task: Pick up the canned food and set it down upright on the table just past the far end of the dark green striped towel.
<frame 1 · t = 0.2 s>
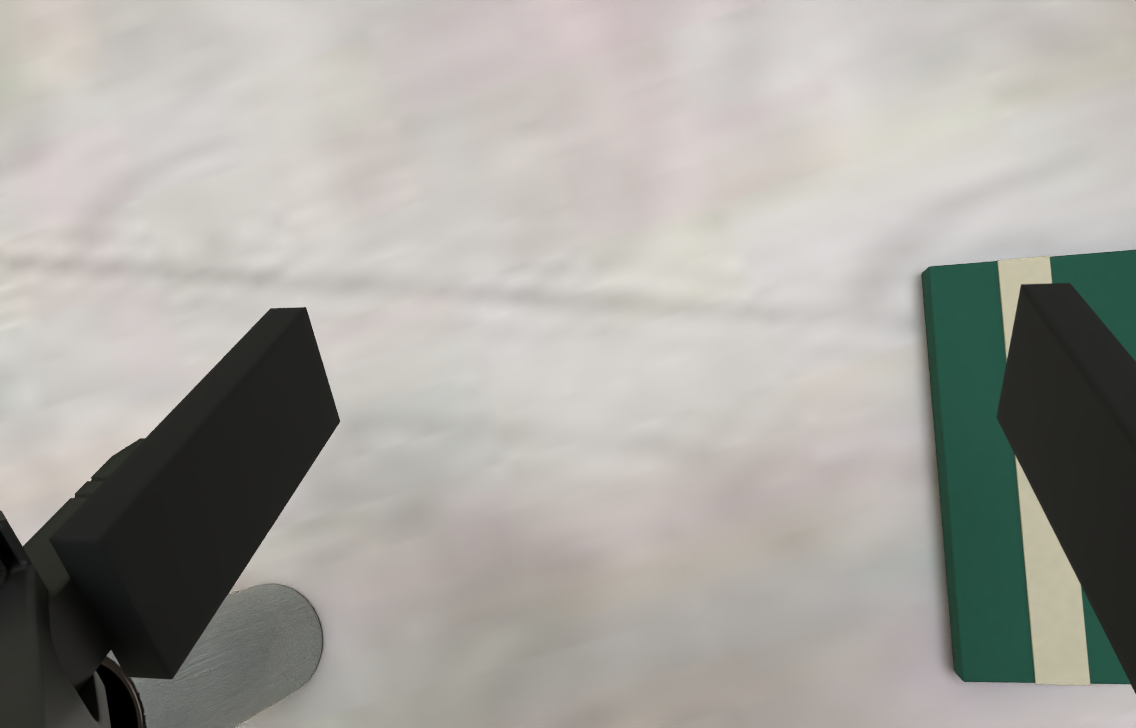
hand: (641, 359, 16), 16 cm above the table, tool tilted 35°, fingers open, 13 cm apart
grey cylinder: (276, 637, 34), on the table
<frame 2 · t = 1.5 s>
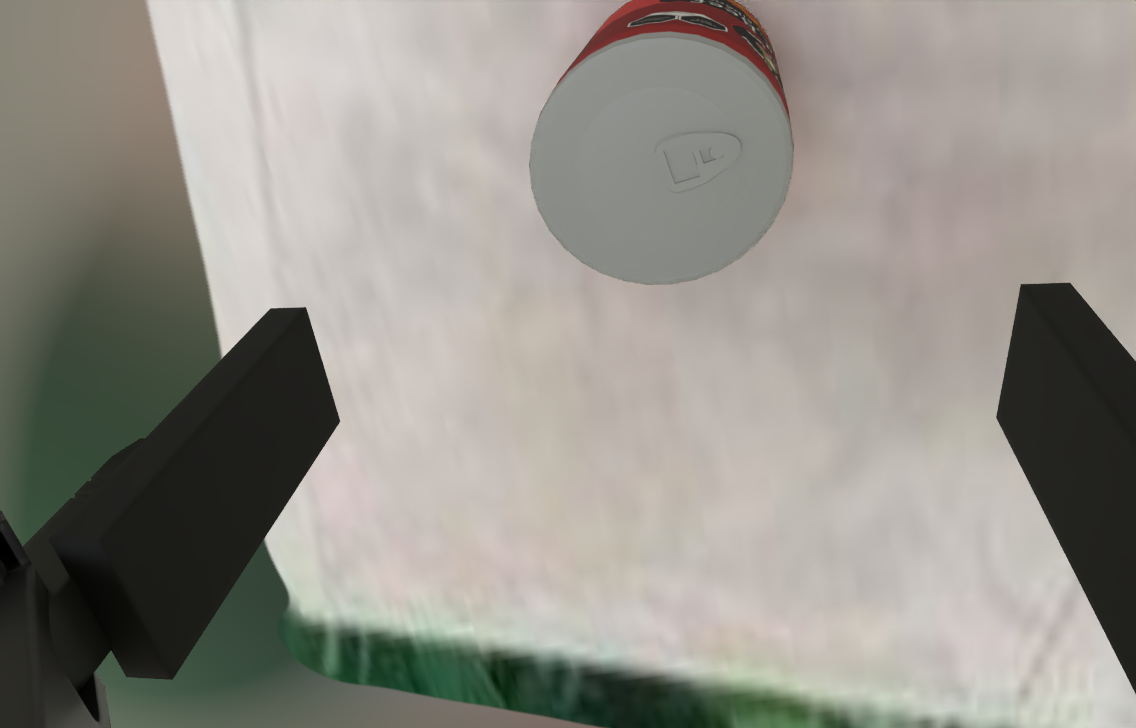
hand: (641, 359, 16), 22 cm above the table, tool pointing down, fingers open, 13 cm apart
canned food: (677, 83, 34), on the table
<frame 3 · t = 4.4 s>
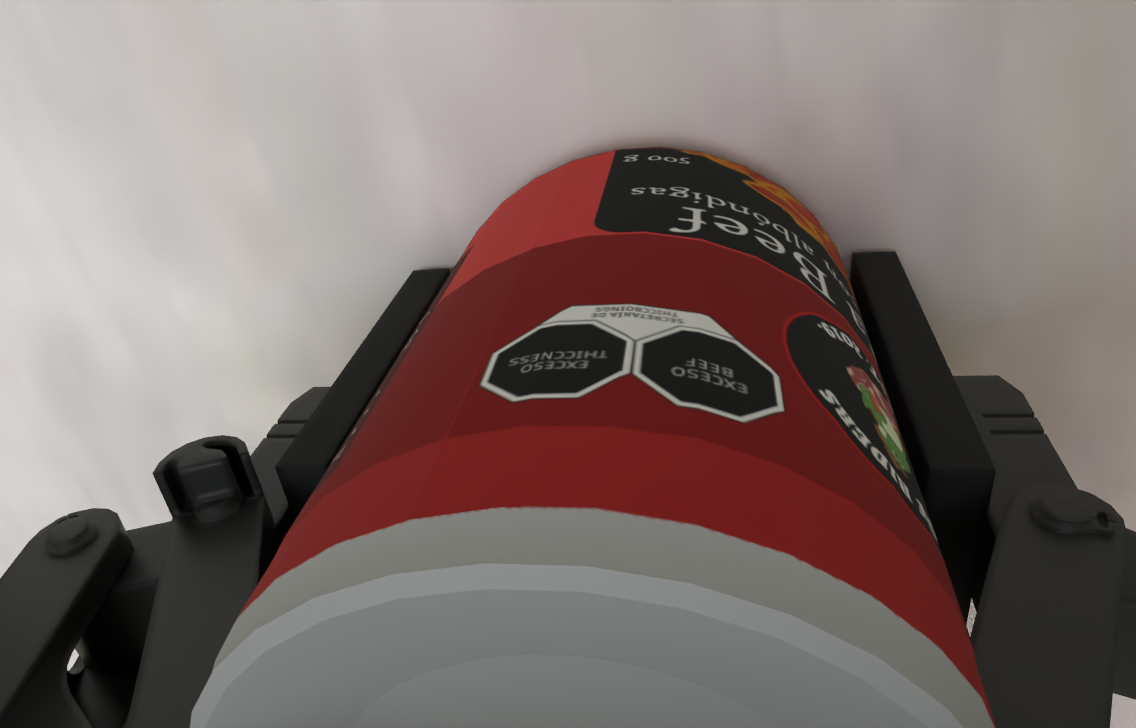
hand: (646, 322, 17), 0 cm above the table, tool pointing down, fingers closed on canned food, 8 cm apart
canned food: (647, 312, 17), on the table, touching gripper
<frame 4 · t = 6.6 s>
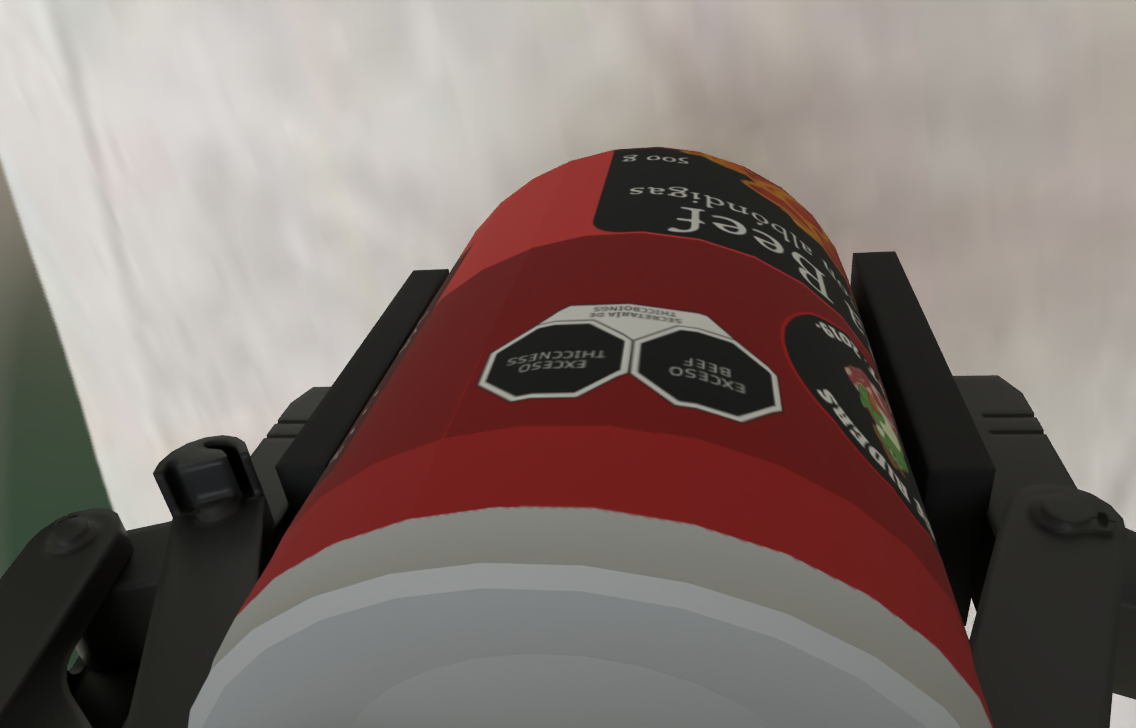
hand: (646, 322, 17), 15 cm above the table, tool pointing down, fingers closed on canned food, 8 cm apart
canned food: (646, 312, 17), point 14 cm above the table, touching gripper
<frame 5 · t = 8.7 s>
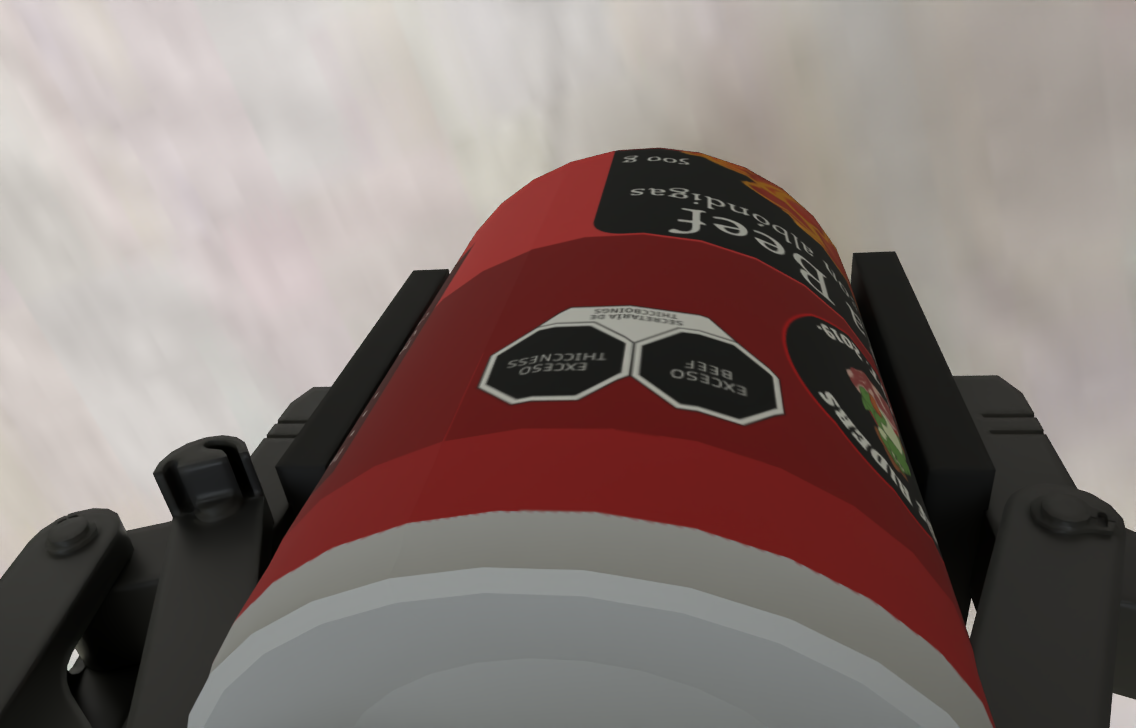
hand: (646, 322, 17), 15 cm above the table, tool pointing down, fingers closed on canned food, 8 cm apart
canned food: (647, 313, 17), point 14 cm above the table, touching gripper
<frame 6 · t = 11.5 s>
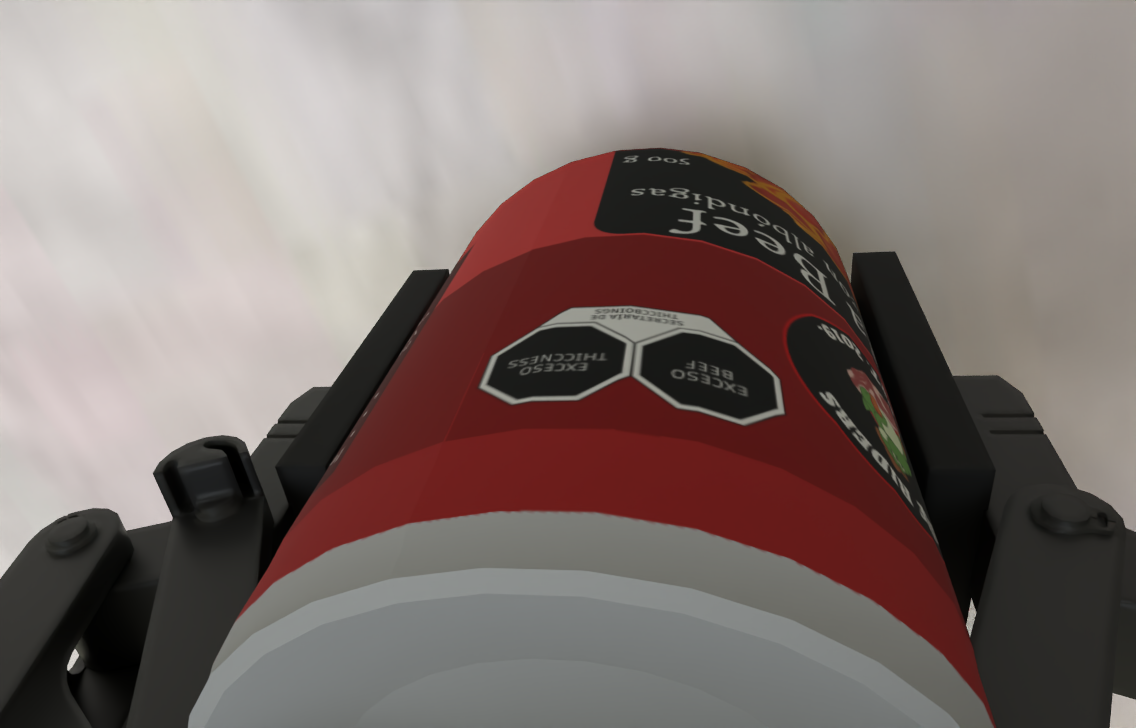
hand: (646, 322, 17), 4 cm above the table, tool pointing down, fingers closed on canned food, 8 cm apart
canned food: (647, 313, 17), point 4 cm above the table, touching gripper
when the fingers open (0 cm above the table, at t = 13.3 s): canned food stays where it is, on the table.
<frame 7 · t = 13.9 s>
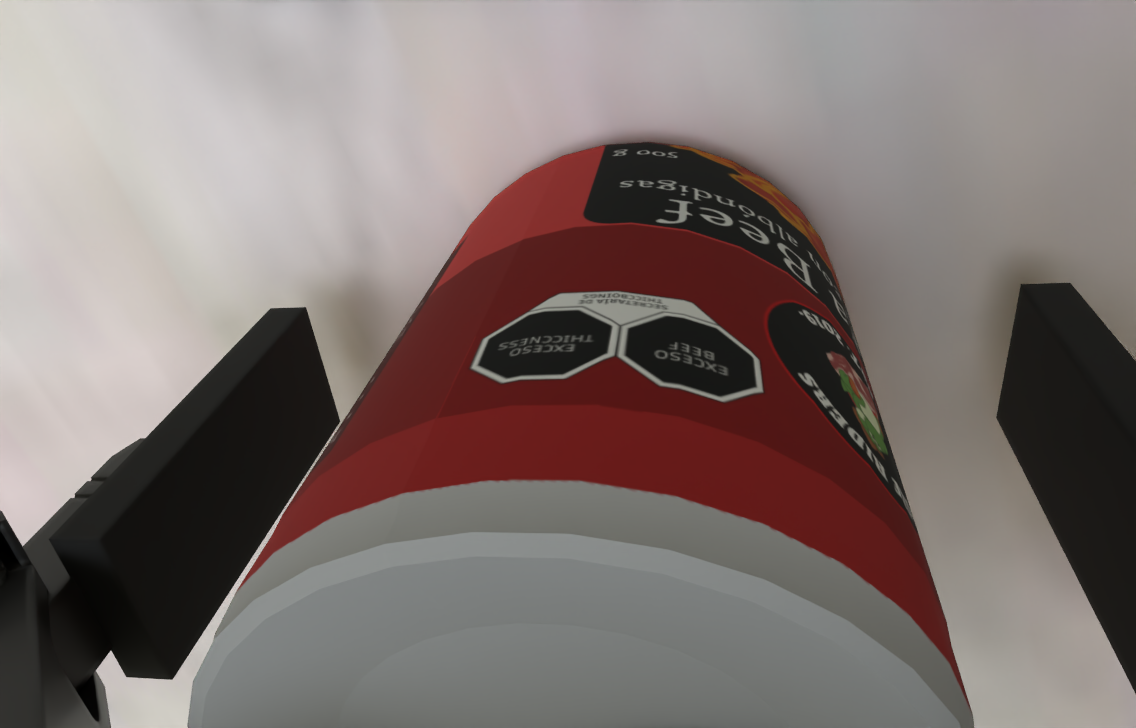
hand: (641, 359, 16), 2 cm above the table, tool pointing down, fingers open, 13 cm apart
canned food: (638, 305, 18), on the table
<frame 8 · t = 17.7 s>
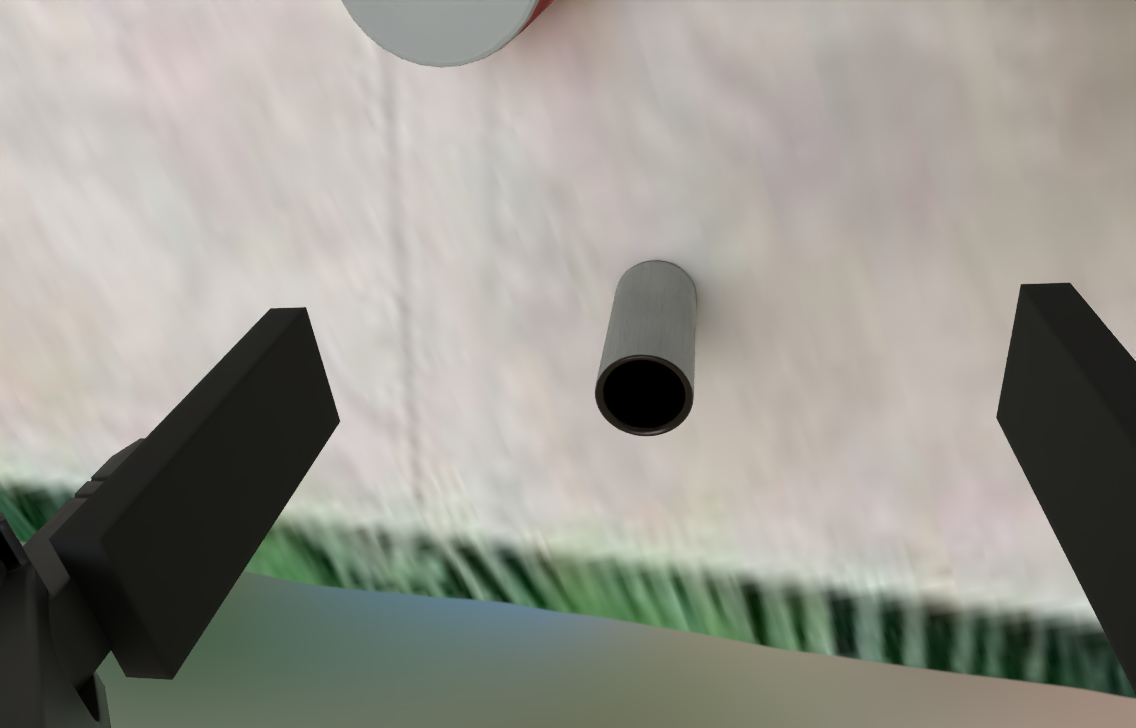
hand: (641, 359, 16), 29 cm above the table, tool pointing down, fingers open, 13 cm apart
grey cylinder: (656, 295, 47), on the table
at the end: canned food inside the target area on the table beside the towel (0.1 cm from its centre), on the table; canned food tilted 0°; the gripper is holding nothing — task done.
